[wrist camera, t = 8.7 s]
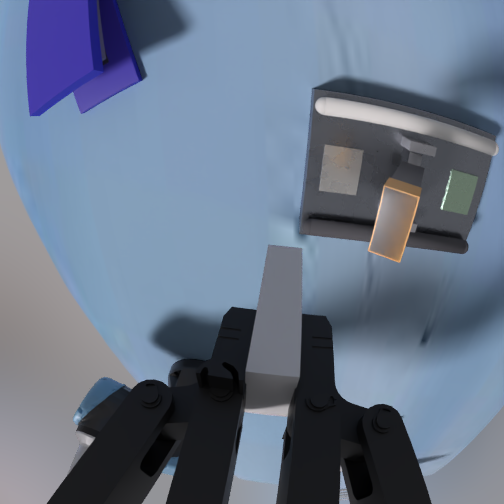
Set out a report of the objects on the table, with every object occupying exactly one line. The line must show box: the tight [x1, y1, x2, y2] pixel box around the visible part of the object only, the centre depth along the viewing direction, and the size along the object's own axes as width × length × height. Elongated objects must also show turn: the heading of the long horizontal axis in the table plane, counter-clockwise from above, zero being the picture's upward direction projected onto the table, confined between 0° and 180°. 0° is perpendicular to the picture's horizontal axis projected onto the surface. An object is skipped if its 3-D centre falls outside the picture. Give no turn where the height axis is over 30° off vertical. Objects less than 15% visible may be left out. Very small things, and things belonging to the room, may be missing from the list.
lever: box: [368, 152, 425, 263], centre depth 23 cm, size 3×7×13 cm, turn 179°
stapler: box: [26, 0, 142, 116], centre depth 20 cm, size 12×28×10 cm, turn 17°
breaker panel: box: [299, 89, 496, 241], centre depth 29 cm, size 22×16×6 cm
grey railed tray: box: [302, 97, 499, 254], centre depth 27 cm, size 22×15×2 cm
